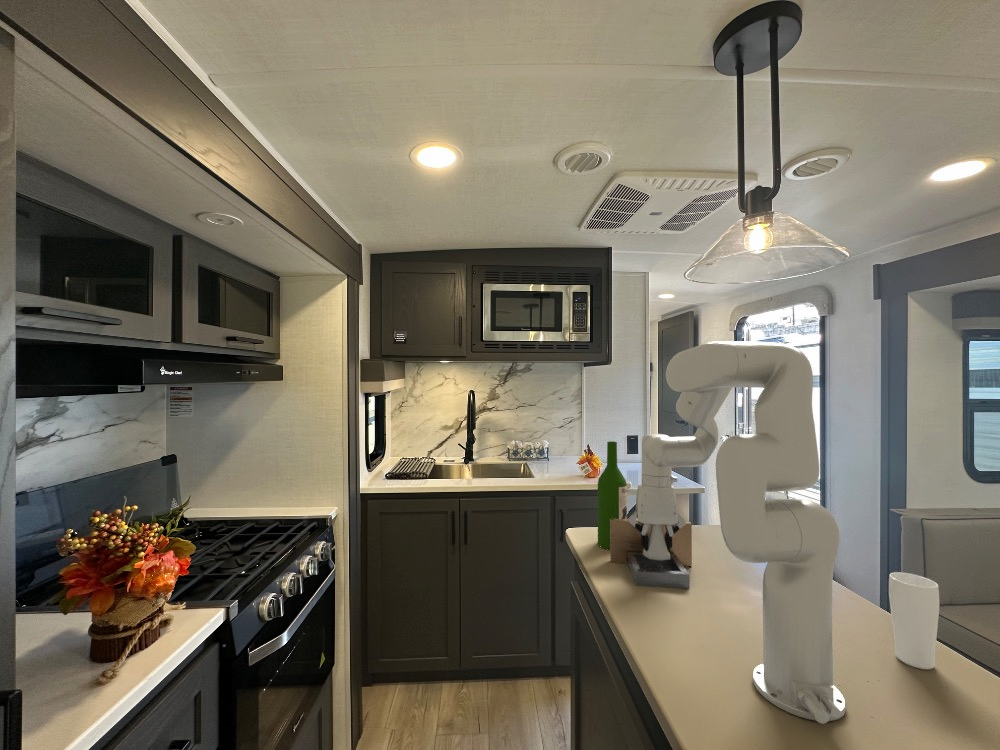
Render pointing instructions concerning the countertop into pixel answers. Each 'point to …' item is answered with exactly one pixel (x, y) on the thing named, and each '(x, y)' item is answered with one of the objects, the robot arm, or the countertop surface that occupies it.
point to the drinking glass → (914, 618)
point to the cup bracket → (648, 570)
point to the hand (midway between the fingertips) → (656, 548)
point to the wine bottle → (610, 496)
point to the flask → (656, 545)
